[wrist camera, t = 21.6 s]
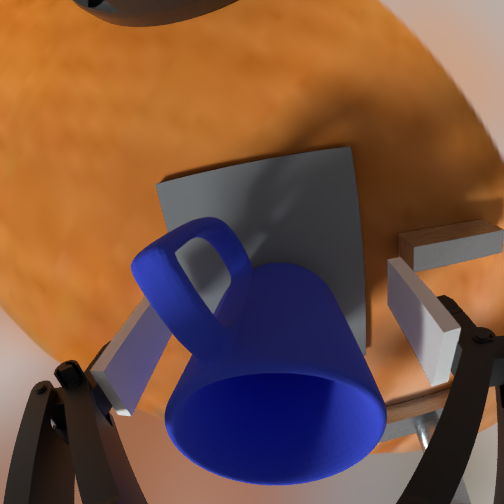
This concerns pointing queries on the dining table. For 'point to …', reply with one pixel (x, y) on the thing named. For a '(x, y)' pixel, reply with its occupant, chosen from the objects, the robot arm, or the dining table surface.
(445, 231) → the dock
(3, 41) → the dining table surface
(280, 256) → the coaster
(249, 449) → the mug
